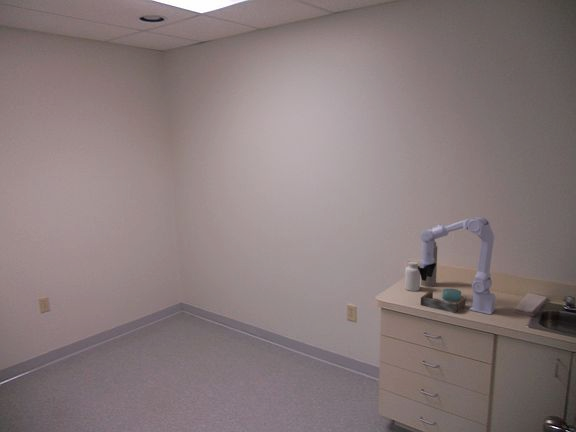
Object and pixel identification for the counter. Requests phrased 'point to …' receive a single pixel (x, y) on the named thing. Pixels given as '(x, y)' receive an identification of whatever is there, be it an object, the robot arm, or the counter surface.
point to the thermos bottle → (432, 280)
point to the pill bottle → (412, 277)
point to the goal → (442, 303)
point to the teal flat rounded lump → (451, 295)
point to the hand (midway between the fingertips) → (426, 278)
